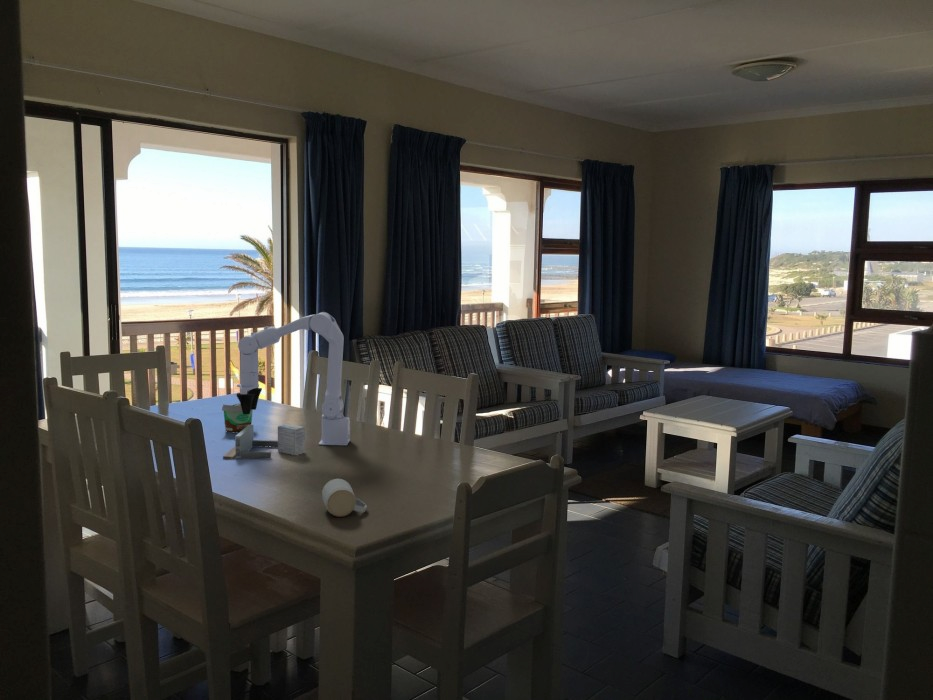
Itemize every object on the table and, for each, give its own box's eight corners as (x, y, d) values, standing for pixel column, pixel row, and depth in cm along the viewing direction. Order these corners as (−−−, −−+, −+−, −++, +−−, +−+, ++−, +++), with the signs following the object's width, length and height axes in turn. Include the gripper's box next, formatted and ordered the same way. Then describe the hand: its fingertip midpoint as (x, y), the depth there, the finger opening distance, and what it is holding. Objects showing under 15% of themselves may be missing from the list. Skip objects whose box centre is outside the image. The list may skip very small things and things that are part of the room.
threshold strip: (248, 444, 248) (248, 442, 248) (233, 459, 231) (232, 456, 231) (239, 444, 248) (239, 442, 248) (223, 458, 231) (223, 456, 230)
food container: (232, 435, 260) (232, 407, 259) (222, 432, 264) (221, 404, 263) (261, 429, 270) (261, 402, 269) (251, 427, 274) (251, 400, 273)
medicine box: (305, 453, 240) (305, 426, 239) (295, 456, 236) (295, 429, 235) (287, 449, 244) (287, 423, 243) (277, 452, 240) (277, 425, 239)
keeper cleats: (280, 446, 247) (280, 440, 247) (270, 458, 232) (270, 452, 232) (253, 445, 247) (253, 440, 247) (240, 458, 232) (240, 451, 232)
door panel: (253, 445, 248) (253, 424, 247) (239, 459, 231) (239, 437, 230) (248, 445, 248) (248, 424, 247) (234, 459, 231) (234, 436, 230)
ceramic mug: (326, 519, 180) (327, 488, 180) (321, 508, 188) (321, 478, 187) (370, 516, 184) (371, 486, 183) (362, 505, 192) (363, 476, 191)
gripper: (243, 368, 258) (243, 407, 259) (230, 374, 243) (231, 415, 245) (264, 368, 258) (264, 407, 259) (252, 375, 243) (253, 416, 245)
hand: (249, 411), depth 252 cm, fingers open, 7 cm apart
